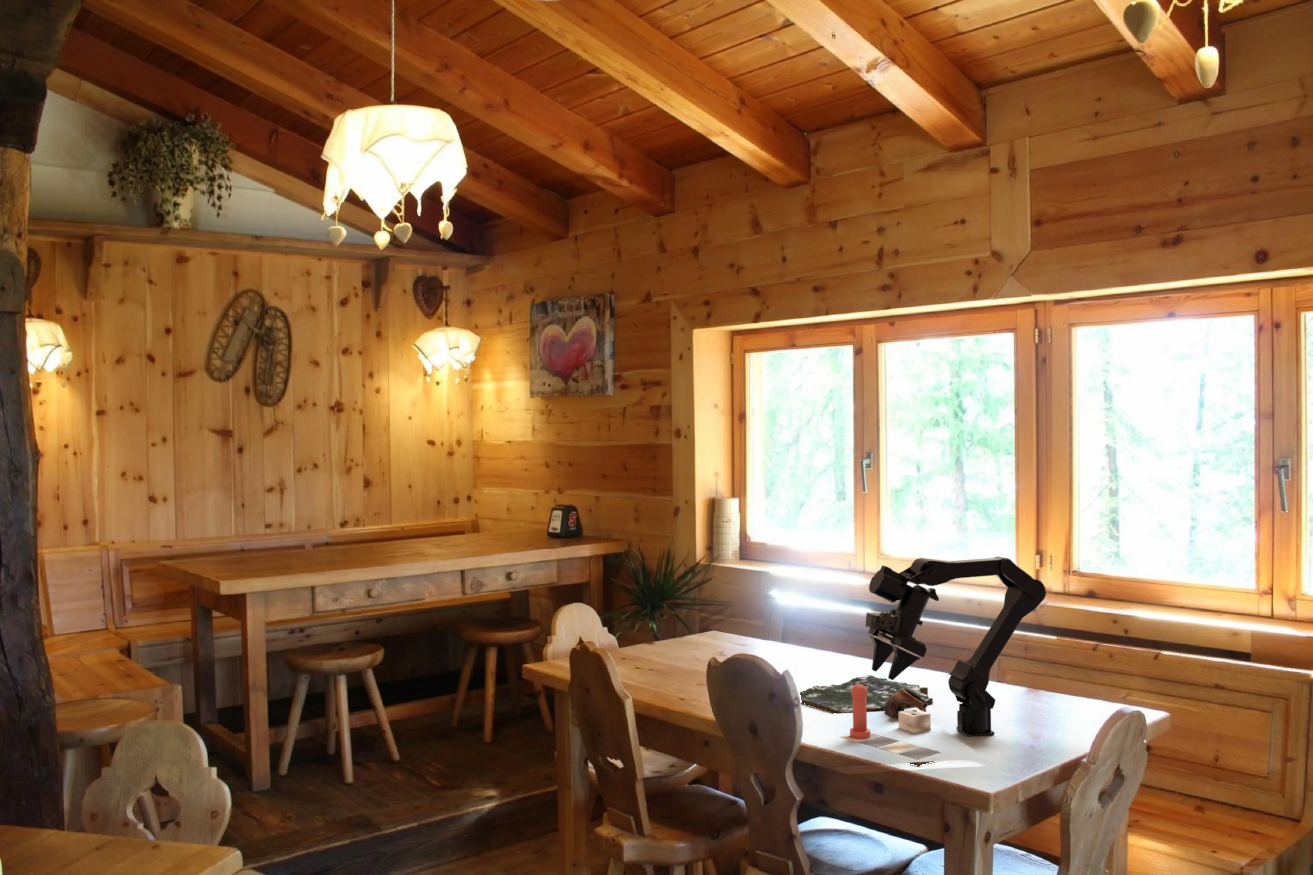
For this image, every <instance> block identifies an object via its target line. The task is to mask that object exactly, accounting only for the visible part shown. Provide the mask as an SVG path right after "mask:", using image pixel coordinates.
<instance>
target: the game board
mask: <svg viewBox="0 0 1313 875" xmlns="http://www.w3.org/2000/svg"><path fill="white" fill-rule="evenodd" d="M840 738H841V739H844V740H848V741H851V742H855V743H859V744H863V745H865V746H869V747H872V748H876V749H877V748H878V749H880V750H883V751H887V752H891V753H894V754H898V755H901V756H905V757H906V758H907V757H908V758H910V759H915V760H921V759H923V758H927V757H931V756H933V755H937V754H941V752H942V751H938V750H934V749H930V748H927V747H923V746H920V745H916V744H913V743H908V742H905V741H901V740H900V741H899V740H898V739H893V738H890V737H887V736H884V735H883V736H882V735H880V734H876V733H872V732H870V738H867V739H855V738H852V737H850V733H849V734H847V735H846V734H845V735H843V736H840ZM934 761H935V760H930V761H914V762H911V761H910V762H909V763H910V764H914V765H917V766H920V765H922V764H926V763H929V762H933V763H935V762H934ZM910 764H909V765H910ZM917 766H916V767H917Z"/></svg>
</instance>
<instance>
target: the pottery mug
mask: <svg viewBox="0 0 1313 875" xmlns="http://www.w3.org/2000/svg"><path fill="white" fill-rule="evenodd" d="M906 701H908V704H910V705H912V706H914V707H913V708H915V709H917V710H920V711H924V712H927V707H928V706H929V705H928V704H927V703H926V702H925V701H924V700H923V699H922V698H920V697H919V696H917V695H916V694H914V693H913V692H911V691H909V690H907V689H904V688H901V690H900V692H897V693H894V694H893V695H892V696H891V697H890V698H889V700H888V703H887V705H886V708H885V711H883V712H884V713H883V714H884V715H886V716H888V717H891V718H895V719H899V716H898V712H900V711H905V709H907V708H906V705H907V702H906Z"/></svg>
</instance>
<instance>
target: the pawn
mask: <svg viewBox="0 0 1313 875" xmlns="http://www.w3.org/2000/svg"><path fill="white" fill-rule="evenodd" d="M867 694H868V692H867V689H866V687H865V686H863V685H861V684H857V685H855V686H853V688H852V690H851V695H852V697H853V713H852V728H851V727H850V729H849V734H850V737H852V738H855V739H866V740H868V739H867V738H870V733H871V729H869V728H868V723H867V721H868V720H867V719H868V717H867V716H868V715H867V713H868V712H867V709H866V697H867ZM870 739H871V738H870Z"/></svg>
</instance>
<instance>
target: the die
mask: <svg viewBox="0 0 1313 875" xmlns="http://www.w3.org/2000/svg"><path fill="white" fill-rule="evenodd" d="M898 716H899V718H898V728H899V729H902V730H904V731H907V732H910V733H913V734H915V733H920V732H925V731H931V727H932V726H931V713H930V712H927V711H926V712H924V711H921V710H919V709H918V708H913V709H906V710H904V711H900V712H898Z"/></svg>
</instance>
